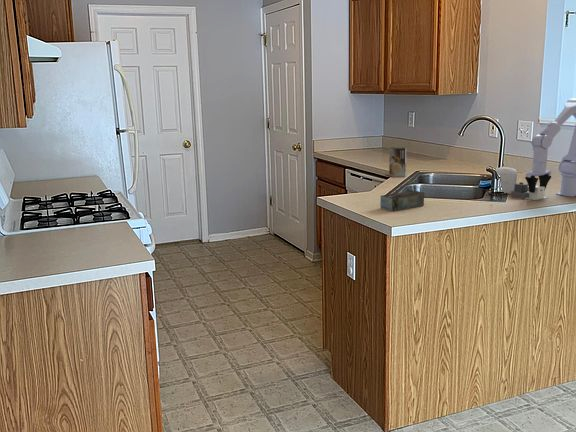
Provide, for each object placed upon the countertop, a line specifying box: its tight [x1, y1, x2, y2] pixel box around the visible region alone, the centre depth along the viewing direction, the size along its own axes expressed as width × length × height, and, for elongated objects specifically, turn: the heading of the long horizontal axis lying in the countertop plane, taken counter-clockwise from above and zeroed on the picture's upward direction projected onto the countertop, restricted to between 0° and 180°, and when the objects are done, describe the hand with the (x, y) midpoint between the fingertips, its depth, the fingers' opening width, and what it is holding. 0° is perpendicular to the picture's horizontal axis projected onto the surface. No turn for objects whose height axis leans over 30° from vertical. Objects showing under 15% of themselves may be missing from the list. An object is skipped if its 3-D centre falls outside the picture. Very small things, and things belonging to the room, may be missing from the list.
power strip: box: [510, 181, 529, 200], centre depth 265 cm, size 14×7×7 cm, turn 119°
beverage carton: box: [380, 189, 425, 212], centre depth 245 cm, size 8×19×7 cm, turn 123°
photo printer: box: [494, 166, 518, 195], centre depth 272 cm, size 10×4×12 cm, turn 60°
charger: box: [529, 184, 546, 199], centre depth 260 cm, size 4×5×5 cm
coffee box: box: [388, 146, 407, 178], centre depth 324 cm, size 9×6×16 cm
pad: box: [524, 196, 549, 201], centre depth 260 cm, size 9×5×1 cm, turn 119°
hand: (537, 191), depth 259 cm, fingers open, 6 cm apart
